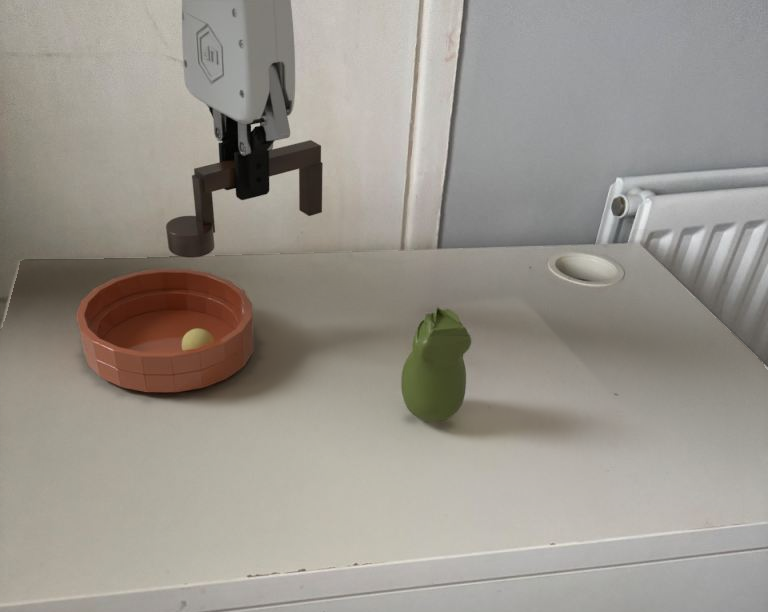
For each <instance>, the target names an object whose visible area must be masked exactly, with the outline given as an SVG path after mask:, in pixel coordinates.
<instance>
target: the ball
mask: <svg viewBox="0 0 768 612" xmlns="http://www.w3.org/2000/svg"><path fill="white" fill-rule="evenodd" d="M213 342H215V340H214V338H213V336H212V335H211V334H210V333H209V332H208V331H206V330H204V329H192V330H190V331H188V332H187V333H186V334H185V335H184V337H183V340H182V350H189V349H195V348H199V347H202V346H204V345H207V344H210V343H213Z"/></svg>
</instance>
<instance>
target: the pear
mask: <svg viewBox="0 0 768 612" xmlns="http://www.w3.org/2000/svg"><path fill="white" fill-rule="evenodd" d="M471 346H472V337H471V335H470V334H469V332H468V330H467V327H465V326H464V325H463V323H462V321H461V320H460V318H459V316H458V314H457V313H455V312H454V311H452V310H450V309H448V308H444V309H441V308H440V307H439V306H437V307H436V309H435V310H434V312H432V313H429V312H427V313H426V314H424V318H423V320H422V321H420V323H418V326H417V328H416V330H415V332H414V335H413V339H412V348H411V349H412V350H411V351H410V352H409V354H408V356H407V357H406V359H405V361H404V363H403V365H402V370H401V377H400V378H401V379H400V383H401V384H400V385H401V394H402V398H403V402H404V404H405V407H406V408H407V410H408V412H410V413H411V414H412V415H413V416H414V417H415V418H417V419H419V420H421V421H424V422H429V423H440V422H443V421H446V420H448V419H450V418H452V417H453V416H454V415H456V414H457V412H458V411H459V410H460V409H461V407H462V405H463V403H464V400H465V396H466V389H467V369H466V364H465V360H464V355H465V354H466V353H467V351H468V350H470V348H471Z"/></svg>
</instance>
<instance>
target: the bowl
mask: <svg viewBox="0 0 768 612" xmlns="http://www.w3.org/2000/svg"><path fill="white" fill-rule="evenodd" d="M253 308H254V307H253V304H252V301H251V300H250V298H249V296H248V295H247V293H246V291H245V290H243V288H241V287H240V286H238V285H237V284H235V283H234V282H232V281H231V280H228V279H226V278H224V277H221V276H219V275H217V274H213V273H211V272H206V271H201V270H200V271H199V270H196V269H195V270H194V269H189V268H188V269H186V268H156V269H149V270H140V271H135V272H132V273H128V274H124V275H121V276H118V277H113V278H111V279H110V280H108V281H106V282H104V283H103V284H100V285H99V286H96V287H95V288H93V289H92V290H91V291H90V292H89V293H88V294H87V295H85V297H84V298H83V299H82V300H81V301H80V304H79V307H78V309H77V312H76V314H75V315H76V316H75V317H76V321H77V322H76V323H77V326H78V327H77V328H78V331H79V336H80V340H81V344H82V346H81V347H82V350H83V354H84V356H85V360H86V361H85V362H86V364H87V365H88V366H89V367H90V369H91V370H92V371H94V372H95V373H96V374H97V376H98V377H100V379H102V380H105V381H107V382H109V383H111V384H114V385H116V386H118V387H121V388H124V389H129V390H134V391H138V392H139V391H140V392H144V393H180V392H186V391H192V390H197V389H202V388H203V389H204V388H207V387H209V386H211V385H214V384H216V383H219V382H222V381H224V380H227V379H228V378H230V377H231V376H233V375H235V373H237V372H238V371H239V370H241V369H242V368H243V367H245V365H246V364H247V362H248V360H249V359H250V357H251V356H252V354H253V353H254V347H255V346H254V343H255V334H254V333H255V331H254V311H253ZM192 329H204V330H206V331H208V332H209V333H210V334H211V335H212V336H213V338H214V340H215V342H213V343H210V344H207V345H204V346H202V347H199V348H195V349H189V350H182V340H183V337H184V335H185V334H186V333H187V332H188V331H190V330H192Z"/></svg>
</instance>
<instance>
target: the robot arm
mask: <svg viewBox="0 0 768 612" xmlns="http://www.w3.org/2000/svg"><path fill="white" fill-rule="evenodd" d="M292 8H293V7H292V0H181V39H182V40H181V41H182V43H181V44H182V63H183V64H182V65H183V77H184V85H185V87H186V89H187V91H188V92H189V93H190V95H192V96H193V97H194V98H195V99H197V100H199V101H200V102H202V103H203V104H205V105H206V106H207V108H208V110H209V112H210V114H211V117H212V119H213V133H214V137H215V139H216V140H217V141H218V144H217V145H218V158H219V159H218V161H219V162H223V161H227V160H231V159H234V162H235V185H236V186H232V187H228V188H224V189H223V190H225V191H230V190H234V189H235V196H236V198H237V199H238V200H240V201H245V200H249V199H254V198H257V197H262V196H266V195H267V194H268V193H269V192H270V177H269V150H272V149H274V142H275V141H280V140H284V139H288V138H290V136H291V127H290V123H289V118H288V116H290V115H291V113H293V110H294V105H295V96H296V51H295V35H294V21H293V19H294V18H293V11H292V10H293V9H292ZM256 124H259V125H257V126H254V127H253V128H252V125H256ZM219 162H218V163H219Z"/></svg>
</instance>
